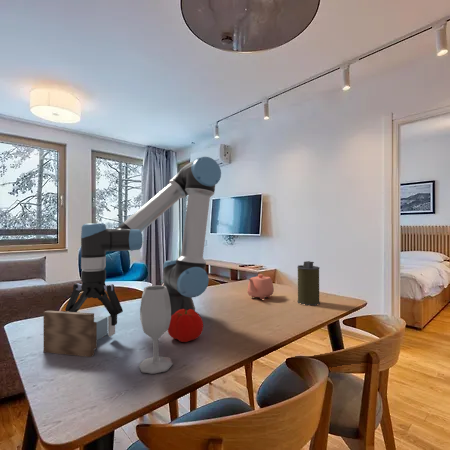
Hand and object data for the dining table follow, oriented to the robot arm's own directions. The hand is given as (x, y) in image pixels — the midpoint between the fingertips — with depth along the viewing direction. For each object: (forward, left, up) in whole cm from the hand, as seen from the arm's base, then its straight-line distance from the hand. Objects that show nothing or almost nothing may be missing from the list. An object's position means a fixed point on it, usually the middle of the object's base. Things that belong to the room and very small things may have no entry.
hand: (93, 333), depth 97 cm
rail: (0, +2, -2) cm, 3 cm away
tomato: (-30, -6, -2) cm, 31 cm away
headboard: (0, +9, -2) cm, 10 cm away
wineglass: (-29, +14, -2) cm, 32 cm away
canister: (-73, -61, -2) cm, 95 cm away
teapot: (-49, -67, -2) cm, 83 cm away
